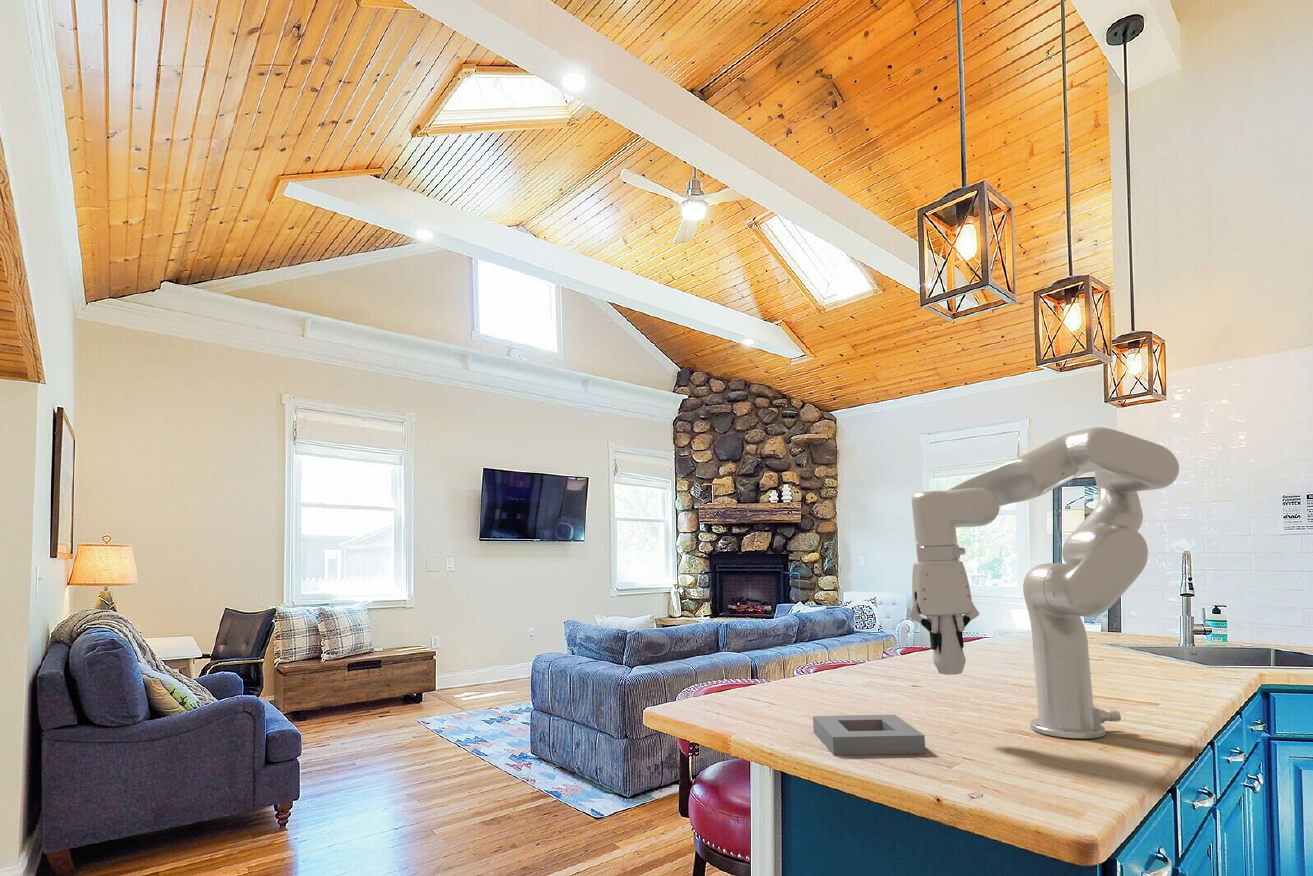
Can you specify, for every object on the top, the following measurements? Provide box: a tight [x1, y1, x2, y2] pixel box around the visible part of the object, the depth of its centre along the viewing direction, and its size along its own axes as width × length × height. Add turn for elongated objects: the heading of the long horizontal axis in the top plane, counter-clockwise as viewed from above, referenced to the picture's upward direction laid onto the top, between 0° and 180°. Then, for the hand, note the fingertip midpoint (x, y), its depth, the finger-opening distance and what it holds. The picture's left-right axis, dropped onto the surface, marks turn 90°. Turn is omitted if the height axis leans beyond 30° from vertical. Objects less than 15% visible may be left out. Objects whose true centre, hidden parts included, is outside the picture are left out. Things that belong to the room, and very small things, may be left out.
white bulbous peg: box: [932, 612, 967, 676], centre depth 144 cm, size 6×6×13 cm
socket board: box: [812, 714, 926, 756], centre depth 139 cm, size 16×16×3 cm
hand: (947, 652), depth 143 cm, fingers closed on white bulbous peg, 3 cm apart
